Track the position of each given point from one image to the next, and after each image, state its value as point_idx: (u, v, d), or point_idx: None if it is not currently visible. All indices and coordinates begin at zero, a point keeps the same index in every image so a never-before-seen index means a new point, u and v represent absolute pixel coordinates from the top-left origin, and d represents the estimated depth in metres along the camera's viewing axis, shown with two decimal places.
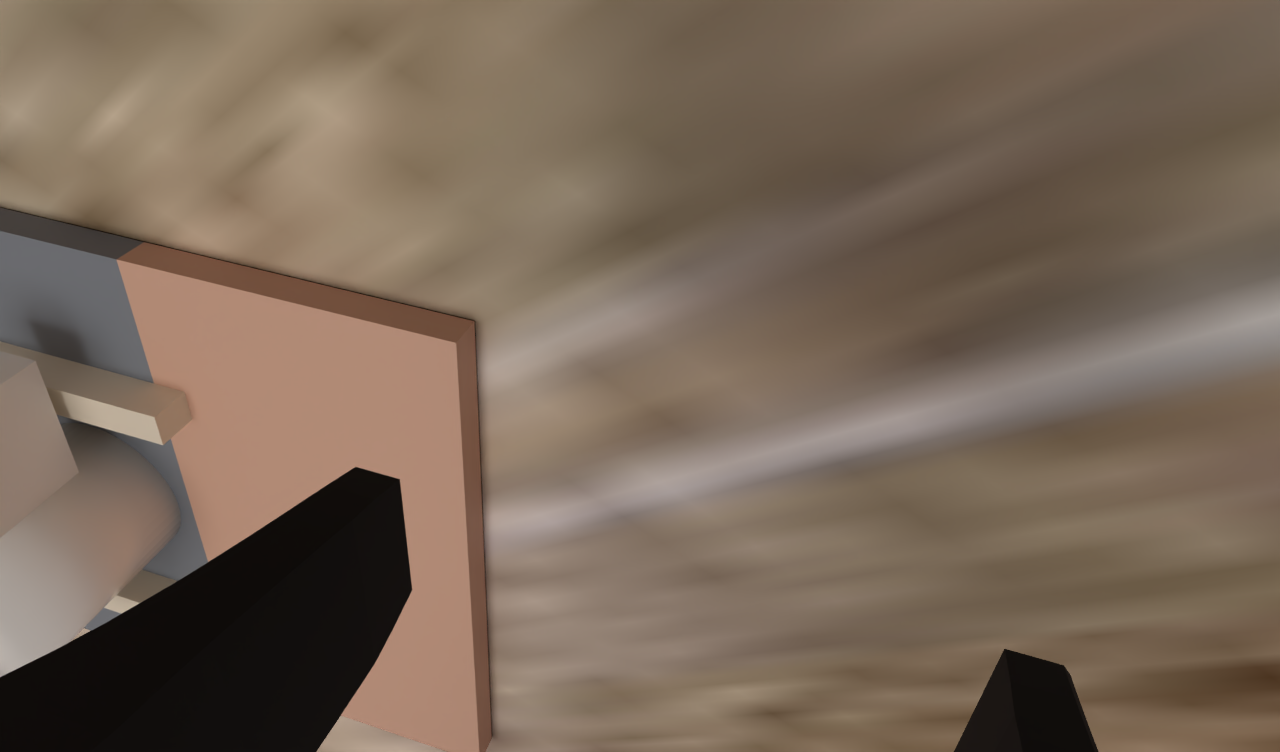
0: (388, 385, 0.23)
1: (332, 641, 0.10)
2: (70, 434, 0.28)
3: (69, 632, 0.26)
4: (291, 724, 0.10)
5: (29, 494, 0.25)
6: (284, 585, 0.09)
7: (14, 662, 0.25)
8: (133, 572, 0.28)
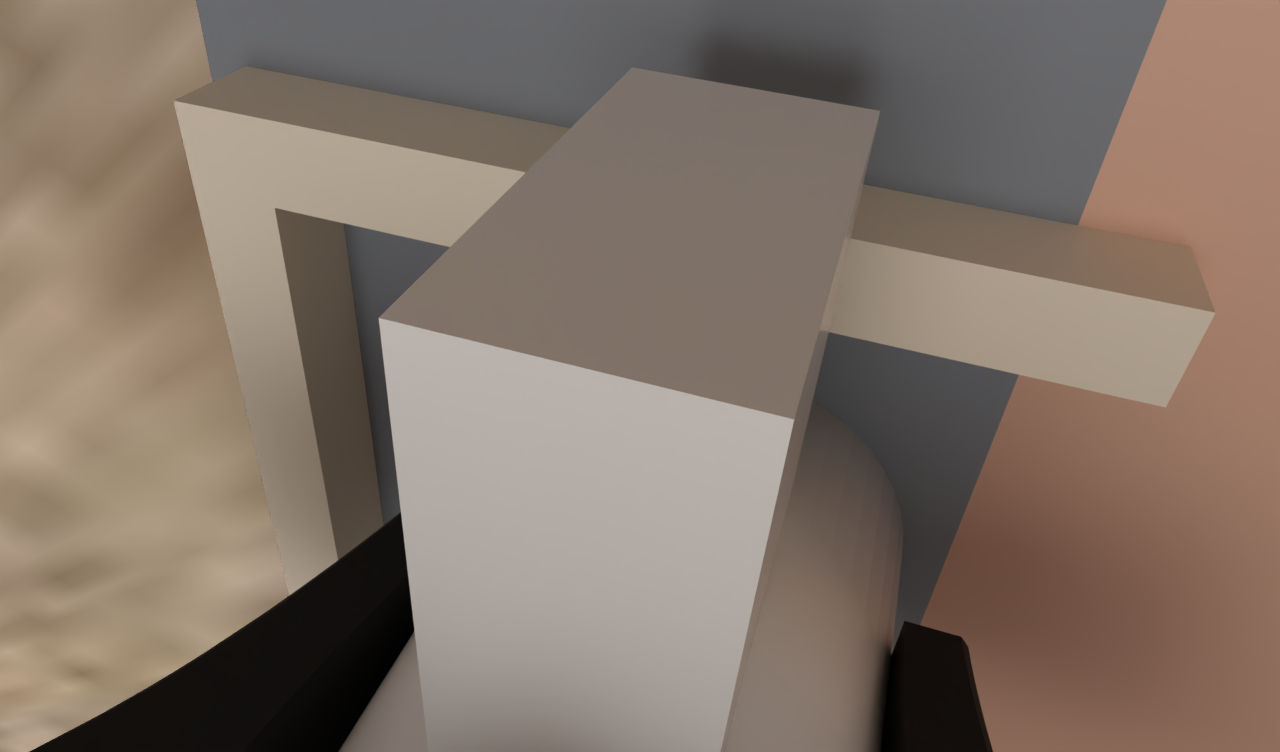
0: None
1: None
2: None
3: None
4: None
5: (772, 563, 0.08)
6: (377, 614, 0.09)
7: None
8: None
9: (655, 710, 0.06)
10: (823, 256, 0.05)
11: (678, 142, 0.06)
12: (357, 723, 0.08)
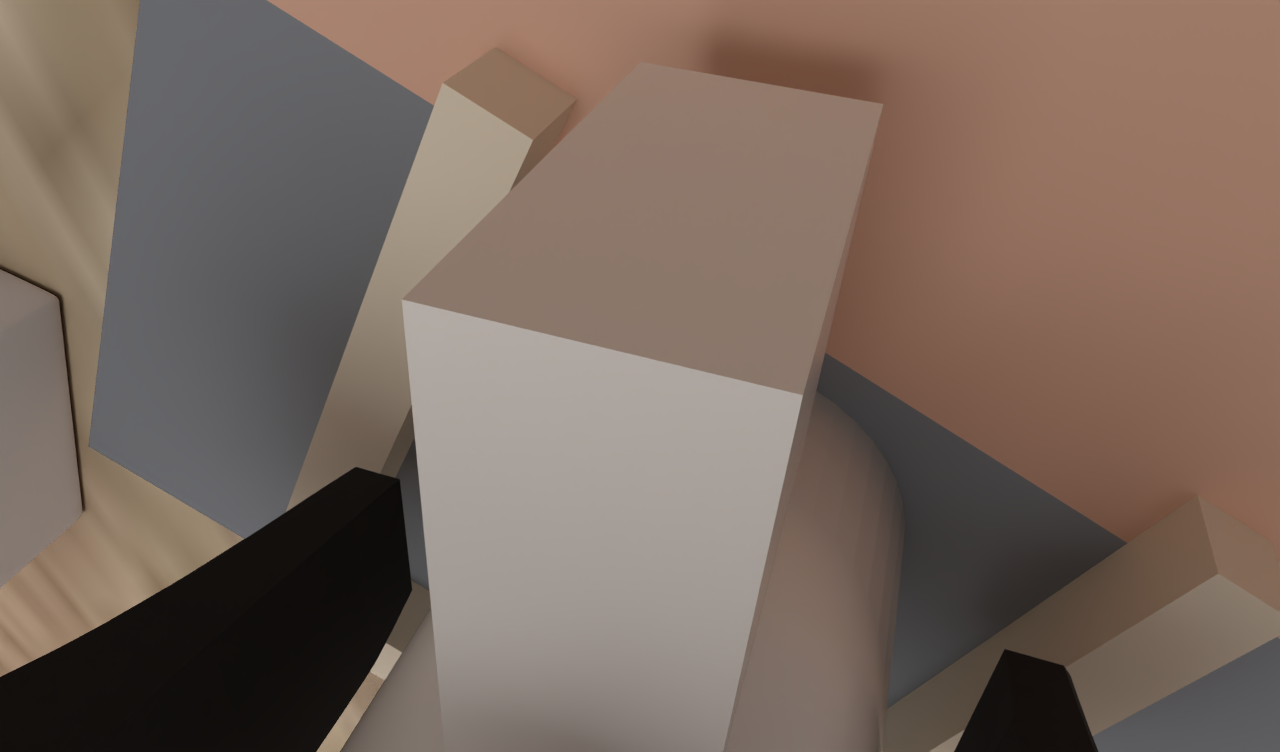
0: None
1: (332, 641, 0.10)
2: None
3: None
4: (291, 724, 0.10)
5: (777, 547, 0.08)
6: (284, 585, 0.09)
7: None
8: None
9: (665, 683, 0.06)
10: (830, 242, 0.05)
11: (685, 135, 0.07)
12: (370, 705, 0.08)
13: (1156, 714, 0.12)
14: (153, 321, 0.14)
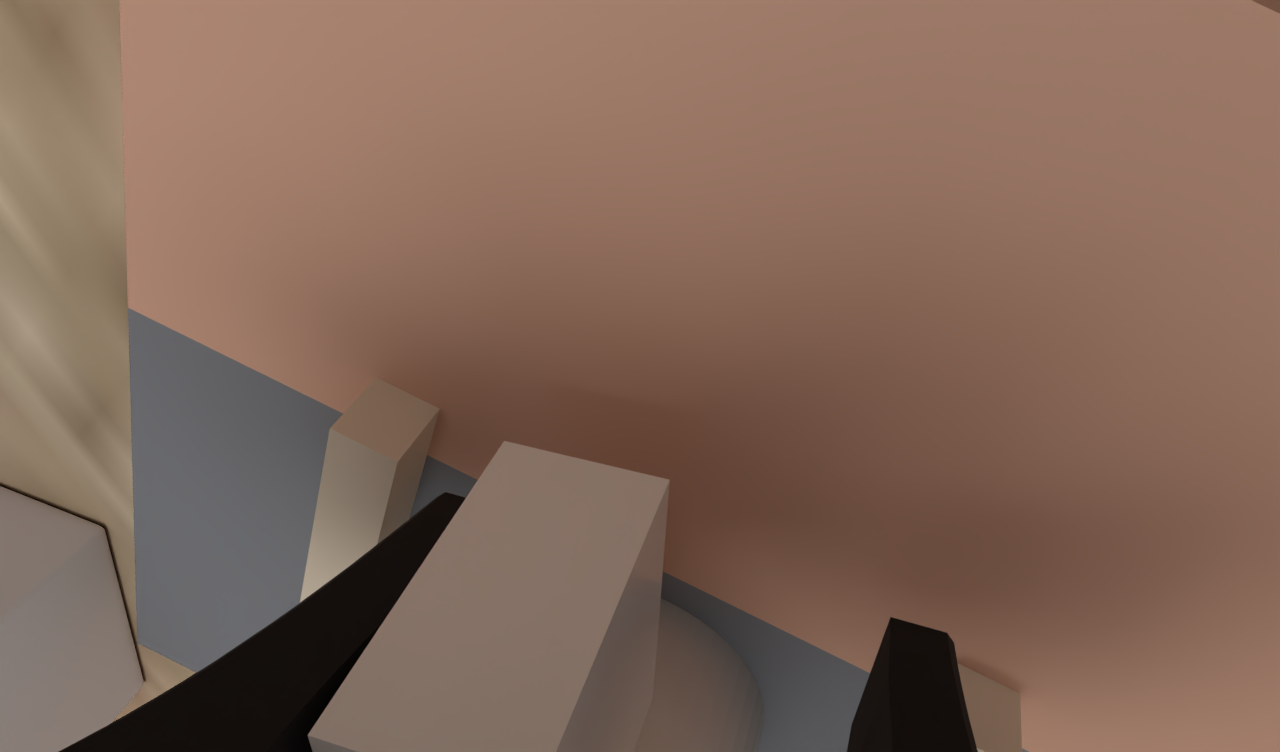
0: None
1: None
2: None
3: None
4: None
5: None
6: None
7: None
8: None
9: None
10: (587, 652, 0.08)
11: (519, 533, 0.10)
12: None
13: None
14: (171, 555, 0.17)
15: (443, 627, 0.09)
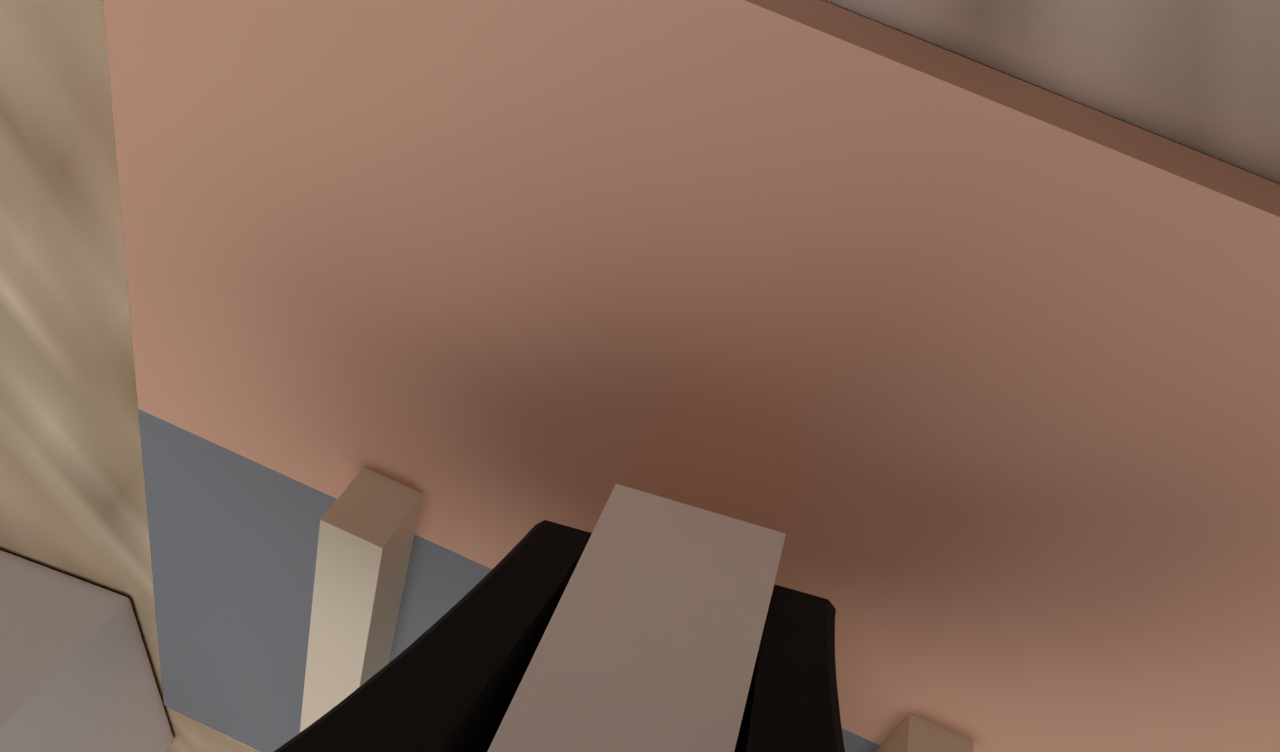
0: None
1: None
2: None
3: None
4: None
5: None
6: (511, 656, 0.09)
7: None
8: None
9: None
10: (731, 717, 0.08)
11: (645, 585, 0.10)
12: None
13: None
14: (190, 626, 0.19)
15: (585, 685, 0.09)
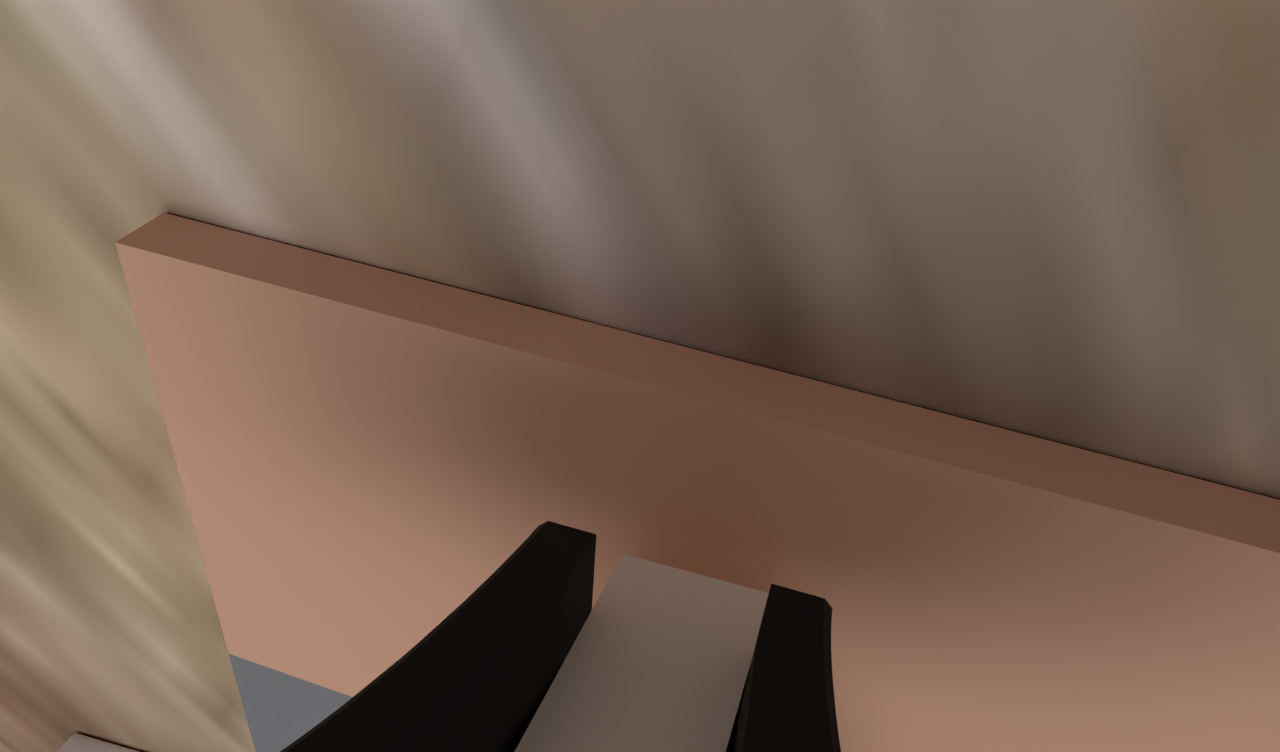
0: (250, 384, 0.14)
1: (537, 707, 0.10)
2: None
3: None
4: None
5: None
6: (515, 657, 0.09)
7: None
8: None
9: None
10: (723, 730, 0.10)
11: (648, 630, 0.11)
12: None
13: None
14: None
15: (596, 704, 0.10)
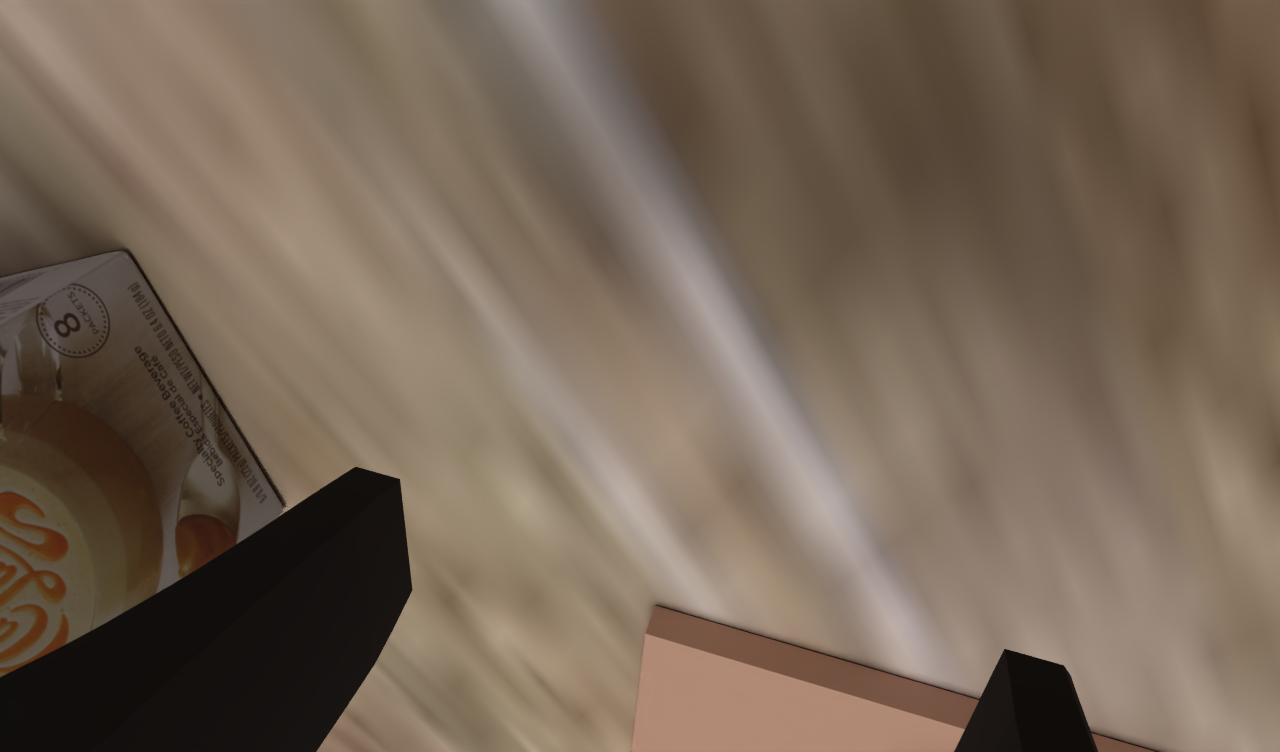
0: (703, 697, 0.26)
1: (332, 641, 0.10)
2: None
3: None
4: (291, 724, 0.10)
5: None
6: (284, 585, 0.09)
7: None
8: None
9: None
10: None
11: None
12: None
13: None
14: None
15: None
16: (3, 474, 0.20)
